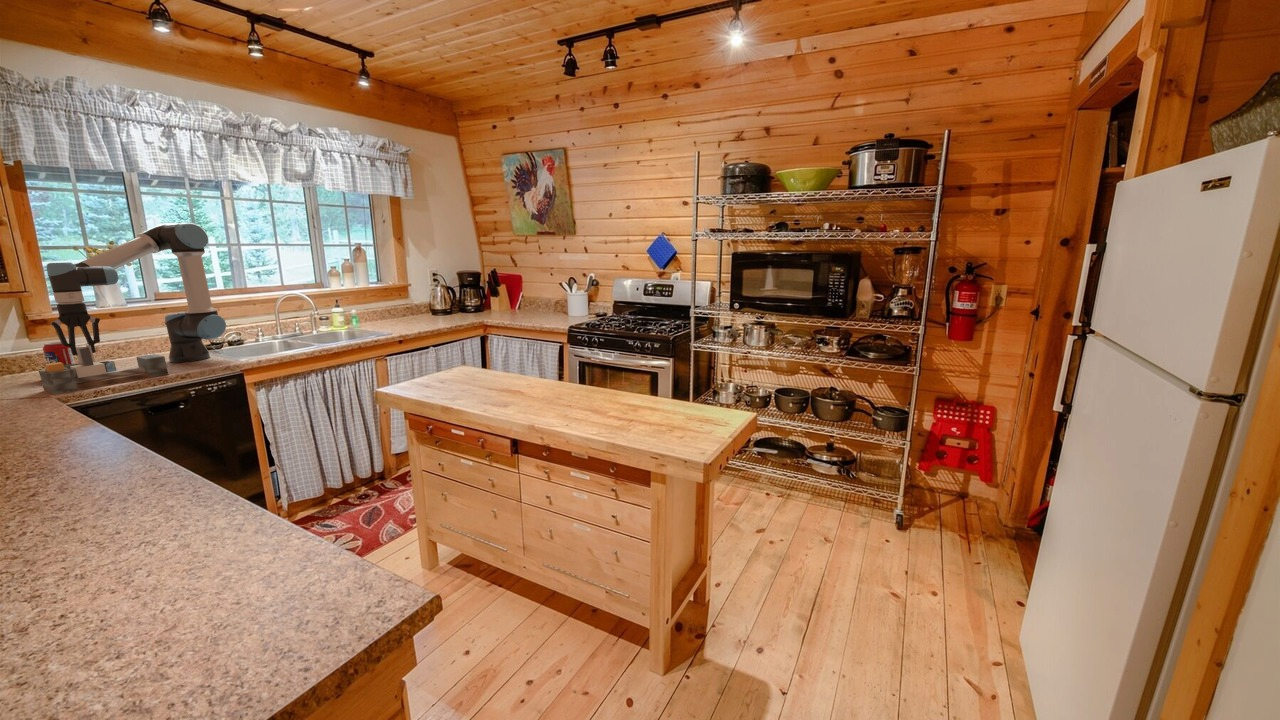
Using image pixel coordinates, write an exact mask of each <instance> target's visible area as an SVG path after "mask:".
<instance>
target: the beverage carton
mask: <svg viewBox="0 0 1280 720" xmlns="http://www.w3.org/2000/svg"><path fill="white" fill-rule="evenodd" d="M96 362H97V361H95V362H93V363H96ZM99 362H100V363H103V364H104V365H105V369H106V372H112V371H117V367H116V364H115V360H105V361H104V360H103V361H99ZM76 365H81V364H80V363H75V364H65V365H64V367H66V368H69V369H71V368H70V366H76ZM44 370H46V368H45V369H44Z"/></svg>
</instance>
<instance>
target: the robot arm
mask: <svg viewBox="0 0 1280 720" xmlns="http://www.w3.org/2000/svg"><path fill="white" fill-rule="evenodd" d="M208 243H209V236H208V233H207V232H206V231H205V229H204V228H203V227H201V226H200V225H198V224H196V223H193V222H186V221H185V222H182V221H181V222H169V223H165V222H164V223H161V224H158V225H156V226H154V227H151V228H149V229H147V230H144V231H143V232H140V233H138V234H137V235H136V237H135V238H134V239H131V240H129V241H126V242H124V243H121V244H119V245H116V246H114V247H112V248H110V249H108V250H105V251H103V252H101V253H98V254H97V255H93V256H91V257H90V258H87V259H85V260H82V261H80V262H77V263H74V262H71V261H70V262H67V261H66V262H49V263H47V264H46V272H47V276H48V279H49V282H50V286H51V290H52V292H53V293H52V294H53V297H54V301H55V303H56V308H57V309H56V310H57V313H58V318H57V319H55V320H54V321H50V323H49V325H51V327H52V328H54V331H55V332H56V335H57V337H58V339H59V342H61V343H62V345H63V346H66V347H70V349H71V352H72V355H73V356H76V359H77V364H79V363H80V364H81V363H83V361H82V357H81V354H80V350H79V347H80V346H77V345H76V334H75V328H78V327H79V328H80V329H81V331H82V332H81V333H82V334H83V336H84V338H85V340H86V343H87V344H86V345H85V347H88V348H89V349H90V353H91V357H92V360H93V362H96V361H95V357H94V354H95V353H96V352H97V351H96V347H95V345H96V344H97V343H100V342H101V338H100V329H99V327H100V326H99V324H100V321H101V319H100V318H99V317H93V316H91V315H90V314H89V313H88V309H87V305H86V303H85V302H84V301H85V298H84V294H83V290H82V288H83V287H94V286H95V287H98V286H112V285H116V284H117V283H118V281H119V273H118V271H117V270H116V269H119V268H121V267H124V266H126V265H128V264H129V263H132V262H134V261H136V260H139V259H140V258H141V259H142V257H145V256H147V255H149V254H158V253H160V252H162V251H167V250H171V254H173V255H174V256H175V257H177V261H178V266H179V269H180V275H181V280H182V285H183V289H184V293H185V298H186V302H187V307H188V309H187V310H186V311H185V312H177V313H176V312H175V313H170V314H167V315H165V317H164V324H165V326H166V330H167V334H168V338H169V343H170V350H169V355H168V360H169V362H170V363H187V362H195V361H196V362H197V361H201V360H205V359H209V358H210V357H211V354H210V352H209V350H208V349H207V347H206V345H205V344H204V342H203V340H215V339H218V338H220V337H222V336H223V334H224V333H225V332H226V328H227V322H226V321H225V319H224V317H222V316H220V315H219V314H218V310H217V308H215V307H213V304H212V298H211V294H210V290H209V285H208V281H207V276H206V270H205V266H204V261H203V255H205V252H206V251H205V247H206V246H207V244H208ZM89 321H90V323H91V328H92V336H91V334H90V332H89V329H88V326H87V323H88V322H89ZM62 324H63V325H65V326H66V327H67V334H68V336H67V337H68V340H67V339H66V336H65V334H64V332H63V330H62V328H61V326H62ZM92 337H93V338H92Z"/></svg>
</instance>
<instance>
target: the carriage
mask: <svg viewBox="0 0 1280 720" xmlns="http://www.w3.org/2000/svg"><path fill="white" fill-rule="evenodd" d="M78 347H79V350H80V354H81V357H82V361H83V363H81V365H76V366H70V368H71V369H72V370H73V372H74V376H75V377H77V378H82V377H88V376H94V375H100V374H107V372H106V369H105V365H104V364H103V363H100V362H101V361H98V362H97V361H95V362H96V363H93V360H92V357H91V353H90V349H89V348H88V347H86V346H78Z"/></svg>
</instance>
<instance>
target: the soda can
mask: <svg viewBox="0 0 1280 720" xmlns="http://www.w3.org/2000/svg"><path fill="white" fill-rule="evenodd" d="M42 352H43V354H44V358H45V362H46V364H51V363H58V362H61V363H63V365H65V364H76V361H75V359H74V355H72V352H71V349H70V347H66V346H63V345H62V343H61V341H54V342H47V343H43V346H42Z"/></svg>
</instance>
